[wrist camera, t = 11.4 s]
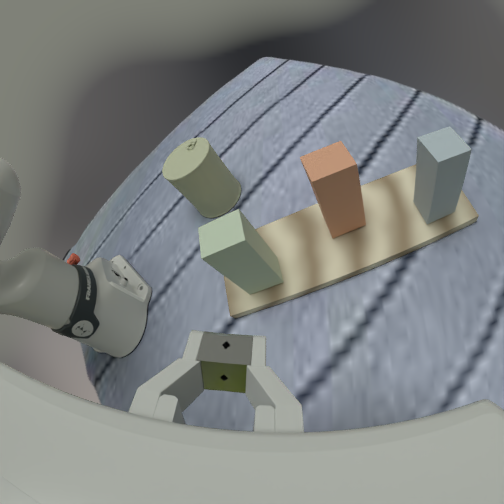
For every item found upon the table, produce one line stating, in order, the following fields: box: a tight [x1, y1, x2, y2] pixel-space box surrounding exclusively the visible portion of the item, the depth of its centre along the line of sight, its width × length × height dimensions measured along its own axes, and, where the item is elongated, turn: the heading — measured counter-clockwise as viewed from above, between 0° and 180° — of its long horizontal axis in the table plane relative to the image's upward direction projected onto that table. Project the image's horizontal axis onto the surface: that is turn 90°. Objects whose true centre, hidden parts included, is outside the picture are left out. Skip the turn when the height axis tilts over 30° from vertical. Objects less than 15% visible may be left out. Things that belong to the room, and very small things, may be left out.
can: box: [162, 138, 241, 218], centre depth 47 cm, size 9×9×12 cm
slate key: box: [413, 127, 471, 224], centre depth 27 cm, size 5×4×12 cm
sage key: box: [198, 209, 284, 294], centre depth 34 cm, size 5×4×12 cm
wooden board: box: [224, 165, 478, 318], centre depth 37 cm, size 38×12×2 cm, turn 101°
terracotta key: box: [300, 141, 366, 239], centre depth 32 cm, size 5×4×12 cm
